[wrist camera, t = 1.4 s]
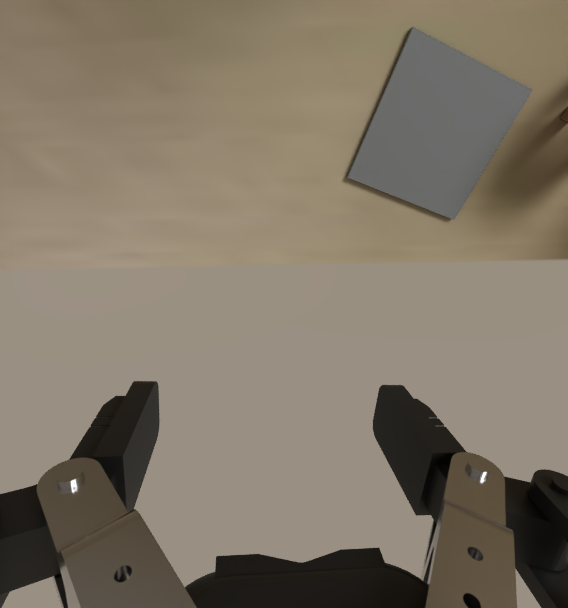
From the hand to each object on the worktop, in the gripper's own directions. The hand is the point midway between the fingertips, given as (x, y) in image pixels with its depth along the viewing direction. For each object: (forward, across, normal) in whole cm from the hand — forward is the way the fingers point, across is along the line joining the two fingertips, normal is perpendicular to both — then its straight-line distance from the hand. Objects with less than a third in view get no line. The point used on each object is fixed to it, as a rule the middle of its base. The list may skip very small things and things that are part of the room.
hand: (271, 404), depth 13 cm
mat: (+23, -16, -13) cm, 30 cm away
